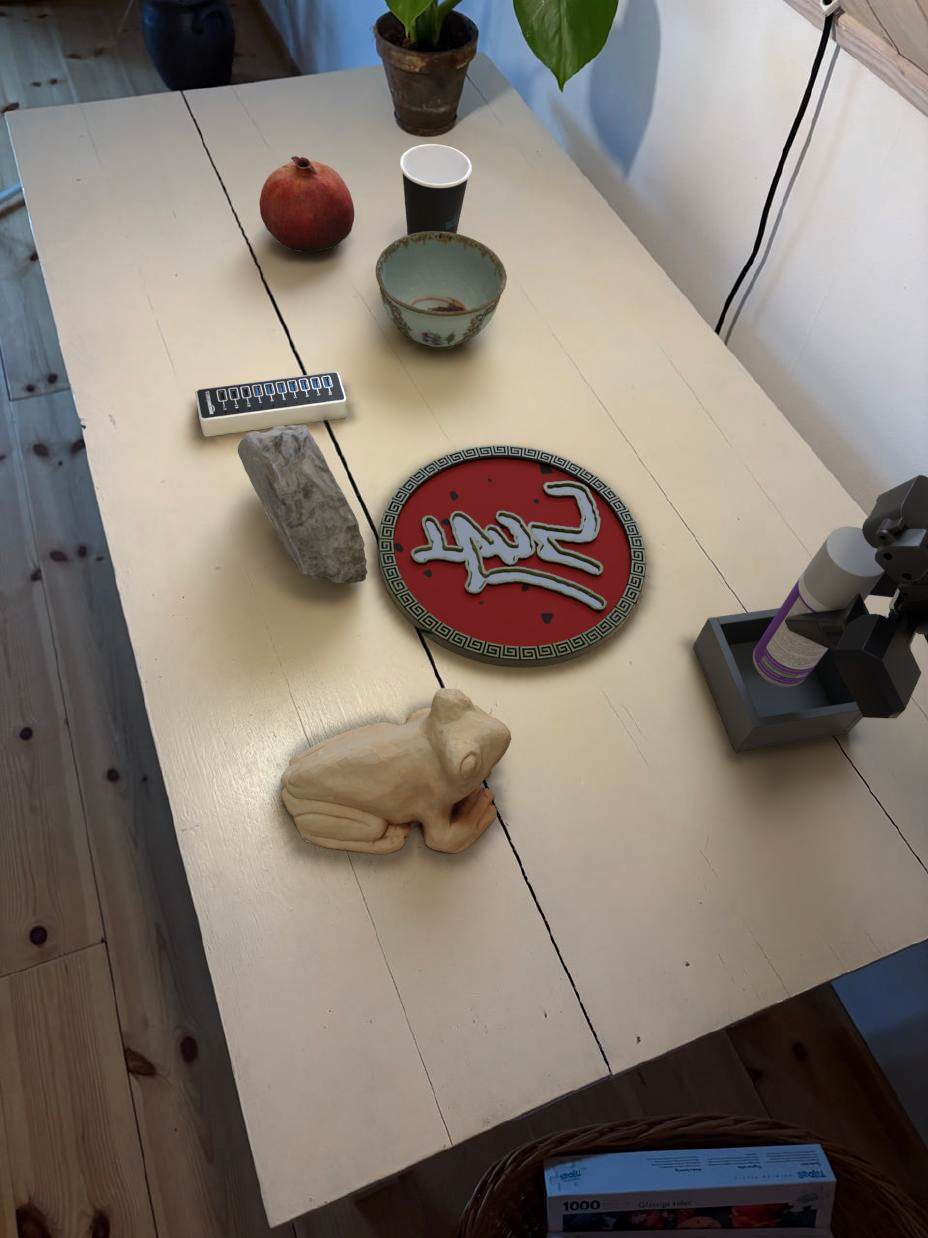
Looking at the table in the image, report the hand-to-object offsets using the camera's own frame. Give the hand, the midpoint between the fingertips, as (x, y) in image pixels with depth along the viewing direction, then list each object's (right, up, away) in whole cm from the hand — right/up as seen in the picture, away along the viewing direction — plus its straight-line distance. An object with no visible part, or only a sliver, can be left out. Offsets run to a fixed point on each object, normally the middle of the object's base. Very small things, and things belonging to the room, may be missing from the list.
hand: (799, 601), depth 72 cm
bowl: (-29, +30, +33) cm, 53 cm away
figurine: (-31, -15, +3) cm, 35 cm away
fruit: (-44, +43, +40) cm, 73 cm away
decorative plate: (-21, +5, +17) cm, 28 cm away
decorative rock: (-40, +6, +16) cm, 44 cm away
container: (0, -5, +6) cm, 8 cm away
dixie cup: (-30, +42, +41) cm, 66 cm away
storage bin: (+1, -7, +11) cm, 13 cm away
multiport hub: (-45, +20, +24) cm, 55 cm away
